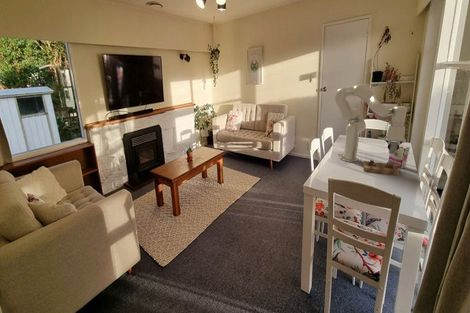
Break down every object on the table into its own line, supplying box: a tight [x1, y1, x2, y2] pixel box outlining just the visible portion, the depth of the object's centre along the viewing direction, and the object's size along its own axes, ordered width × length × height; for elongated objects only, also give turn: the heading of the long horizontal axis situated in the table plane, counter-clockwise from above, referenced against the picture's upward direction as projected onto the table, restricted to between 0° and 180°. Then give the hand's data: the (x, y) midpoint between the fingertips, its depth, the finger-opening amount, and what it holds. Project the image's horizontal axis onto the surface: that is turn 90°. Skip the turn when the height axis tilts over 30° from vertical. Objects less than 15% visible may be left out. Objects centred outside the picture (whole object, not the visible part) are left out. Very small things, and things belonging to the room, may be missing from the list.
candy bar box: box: [387, 144, 410, 170], centre depth 186 cm, size 11×5×16 cm, turn 21°
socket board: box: [362, 159, 400, 176], centre depth 183 cm, size 22×14×4 cm, turn 65°
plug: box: [388, 141, 398, 155], centre depth 175 cm, size 4×4×8 cm
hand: (392, 149), depth 175 cm, fingers closed on plug, 4 cm apart
